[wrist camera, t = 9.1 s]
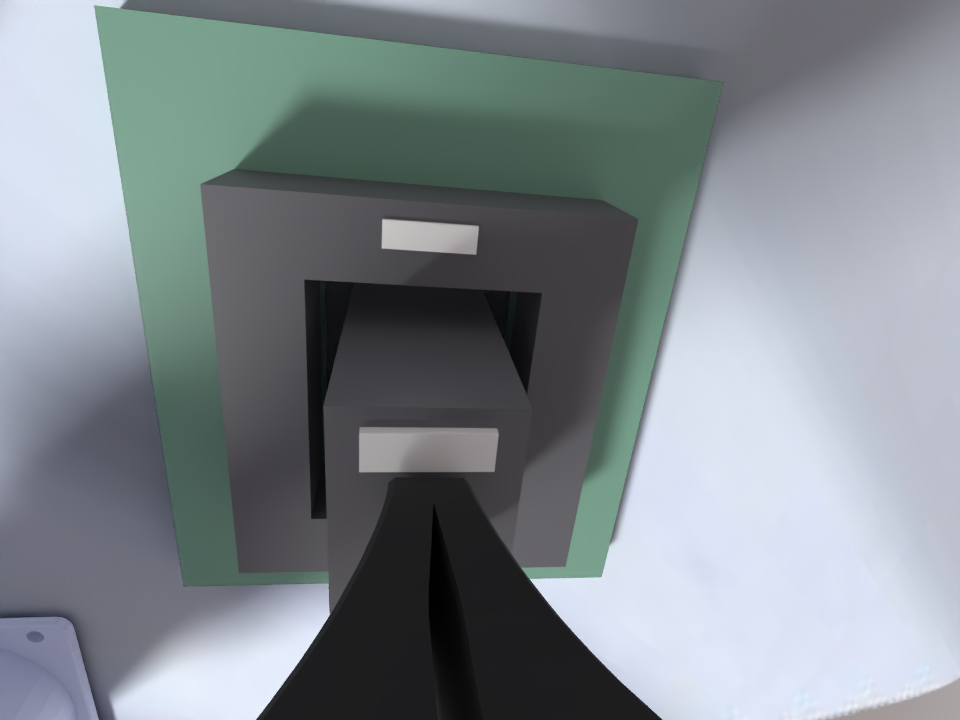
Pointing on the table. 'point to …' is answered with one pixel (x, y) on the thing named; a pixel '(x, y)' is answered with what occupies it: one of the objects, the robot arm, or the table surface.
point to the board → (374, 134)
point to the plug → (419, 411)
